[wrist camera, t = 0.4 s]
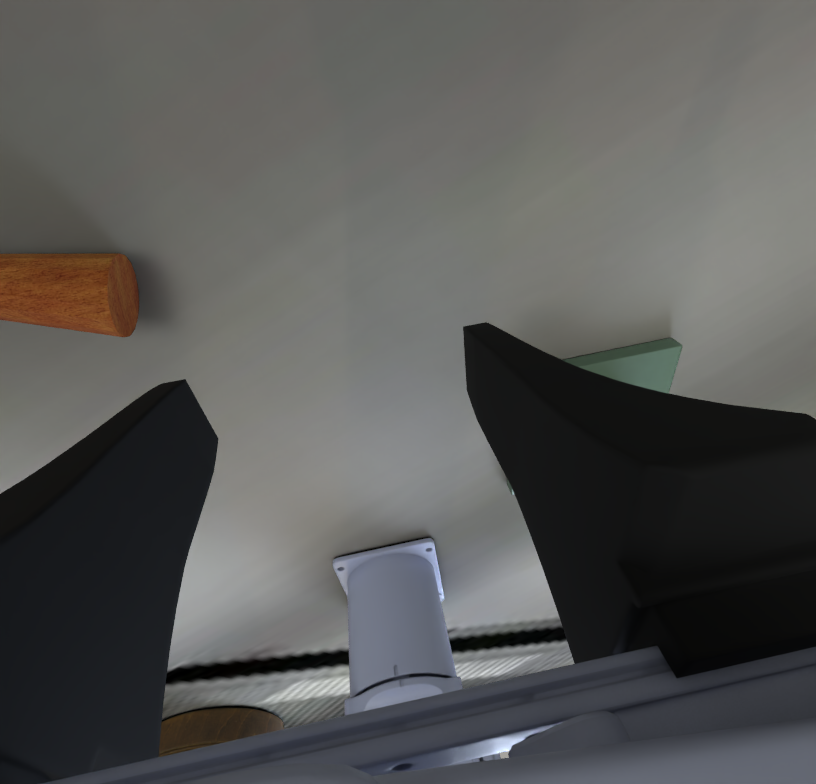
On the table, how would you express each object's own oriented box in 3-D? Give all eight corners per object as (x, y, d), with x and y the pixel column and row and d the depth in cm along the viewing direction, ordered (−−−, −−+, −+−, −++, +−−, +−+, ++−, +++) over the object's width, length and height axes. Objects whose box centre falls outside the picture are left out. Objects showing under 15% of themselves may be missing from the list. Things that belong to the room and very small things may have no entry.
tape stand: (639, 455, 30) (692, 517, 25) (506, 484, 30) (537, 551, 25) (671, 337, 24) (747, 390, 20) (506, 371, 24) (545, 433, 19)
